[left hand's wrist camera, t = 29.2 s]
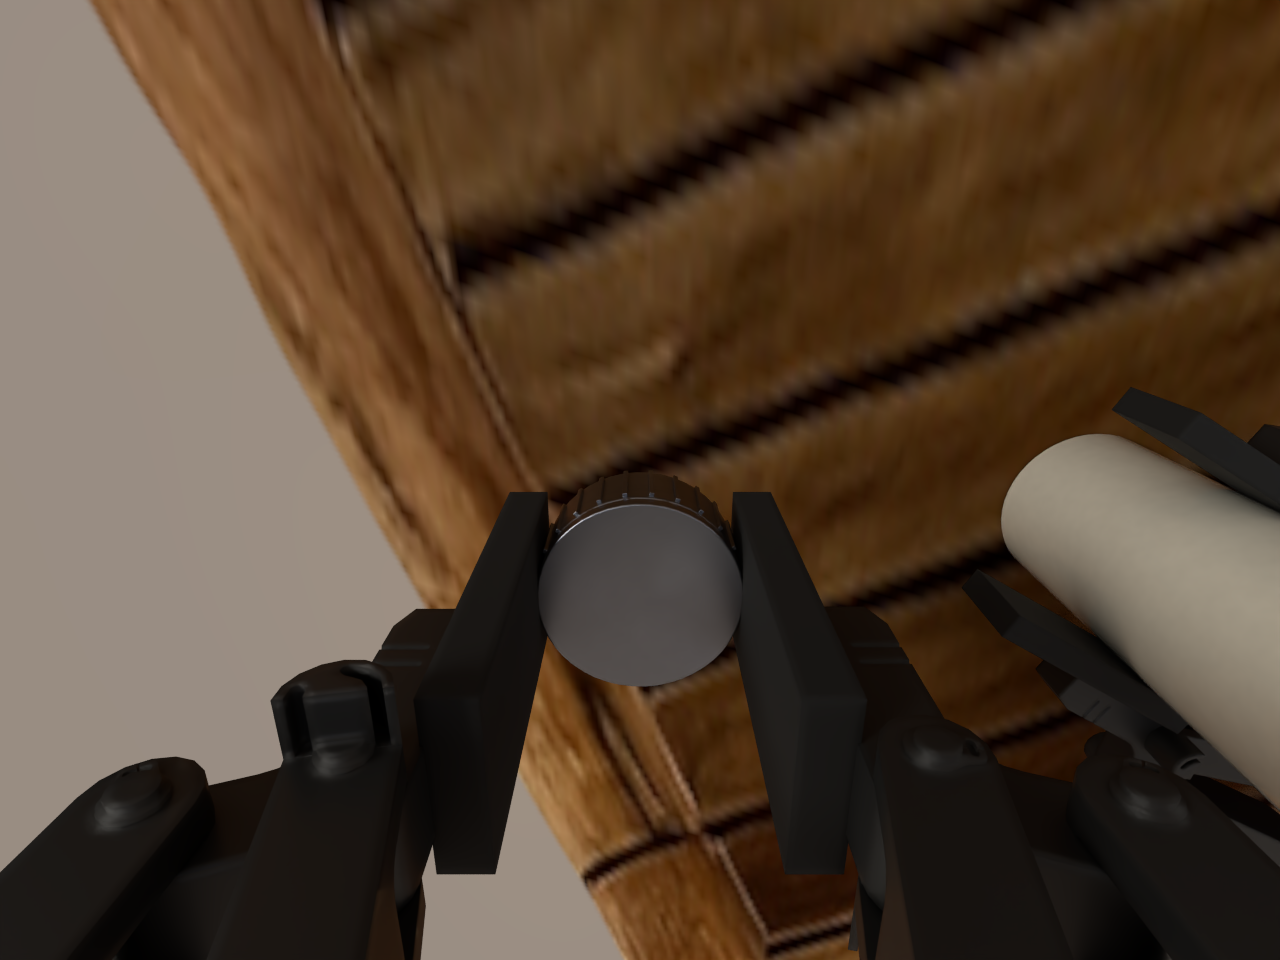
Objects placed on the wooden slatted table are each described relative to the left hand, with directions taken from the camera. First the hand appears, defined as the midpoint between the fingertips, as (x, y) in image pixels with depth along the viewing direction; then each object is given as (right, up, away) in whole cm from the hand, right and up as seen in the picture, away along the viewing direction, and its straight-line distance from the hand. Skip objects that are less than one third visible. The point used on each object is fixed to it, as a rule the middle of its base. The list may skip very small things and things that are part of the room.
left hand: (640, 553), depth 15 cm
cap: (0, -1, -1) cm, 1 cm away
